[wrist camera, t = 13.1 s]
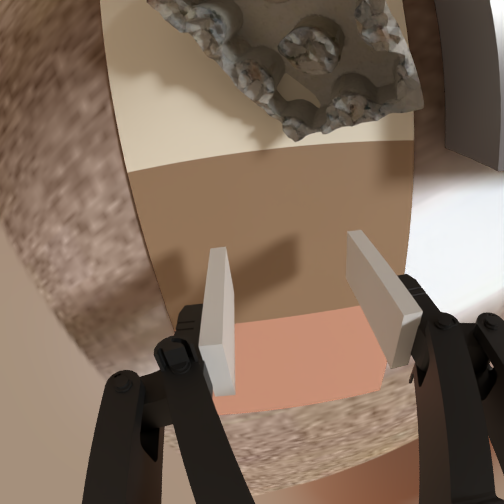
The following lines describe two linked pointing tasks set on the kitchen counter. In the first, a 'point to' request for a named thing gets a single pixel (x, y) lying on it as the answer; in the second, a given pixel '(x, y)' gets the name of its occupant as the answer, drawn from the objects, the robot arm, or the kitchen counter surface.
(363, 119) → the egg carton
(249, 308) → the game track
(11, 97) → the kitchen counter surface
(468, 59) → the housing
